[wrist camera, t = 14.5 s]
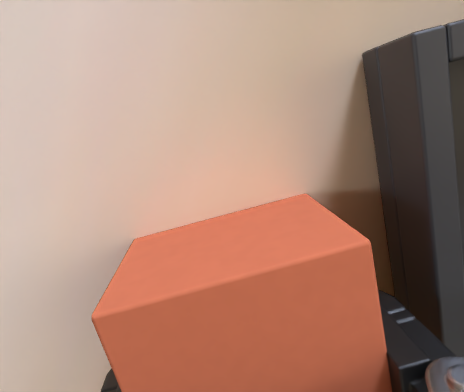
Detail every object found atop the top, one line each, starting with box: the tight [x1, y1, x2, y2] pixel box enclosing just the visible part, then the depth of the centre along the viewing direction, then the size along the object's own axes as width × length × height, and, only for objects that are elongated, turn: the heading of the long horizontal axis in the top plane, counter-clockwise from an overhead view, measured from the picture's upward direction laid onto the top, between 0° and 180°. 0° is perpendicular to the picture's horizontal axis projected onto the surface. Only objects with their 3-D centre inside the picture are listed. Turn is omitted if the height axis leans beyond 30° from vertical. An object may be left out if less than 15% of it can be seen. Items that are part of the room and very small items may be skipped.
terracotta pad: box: [92, 194, 392, 392], centre depth 9 cm, size 6×8×4 cm
